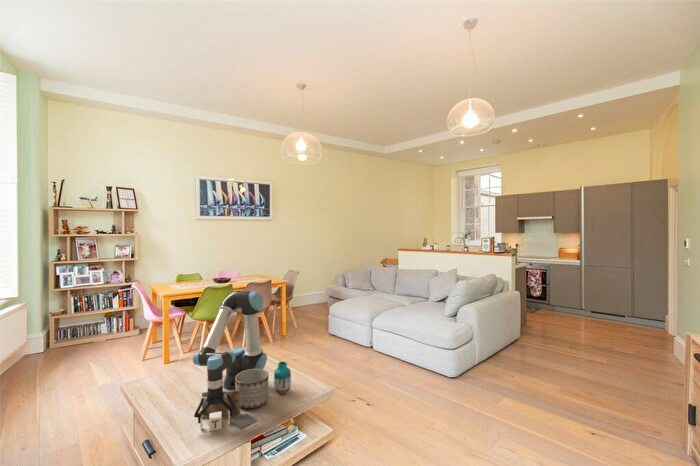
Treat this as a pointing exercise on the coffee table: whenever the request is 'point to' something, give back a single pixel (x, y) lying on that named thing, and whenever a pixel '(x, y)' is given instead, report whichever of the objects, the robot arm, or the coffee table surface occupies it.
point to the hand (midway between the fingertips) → (215, 425)
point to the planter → (252, 387)
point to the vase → (282, 378)
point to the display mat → (243, 421)
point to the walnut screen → (219, 407)
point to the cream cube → (215, 421)
